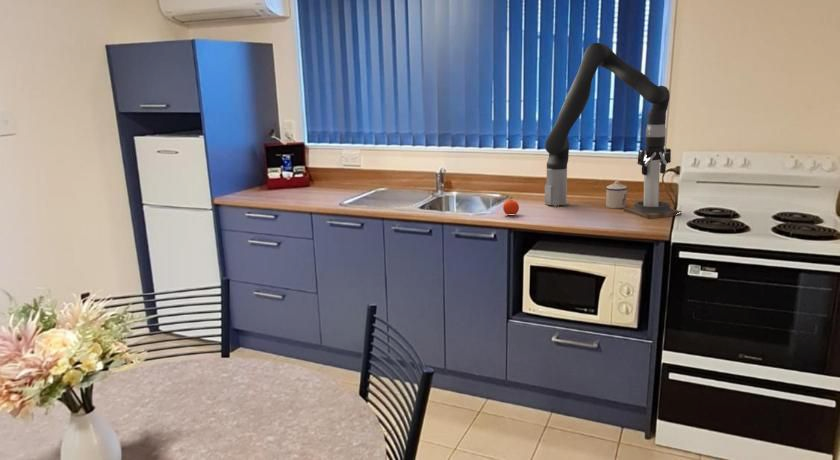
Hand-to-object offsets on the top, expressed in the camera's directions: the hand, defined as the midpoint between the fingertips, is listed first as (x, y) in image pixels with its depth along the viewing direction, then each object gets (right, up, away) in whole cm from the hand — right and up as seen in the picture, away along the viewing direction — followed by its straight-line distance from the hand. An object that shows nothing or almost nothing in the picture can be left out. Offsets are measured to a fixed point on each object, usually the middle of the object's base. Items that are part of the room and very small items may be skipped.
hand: (653, 174), depth 246 cm
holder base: (+1, -16, +4) cm, 17 cm away
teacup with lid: (-9, -13, +21) cm, 26 cm away
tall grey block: (0, -15, +4) cm, 15 cm away
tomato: (-58, -17, +13) cm, 62 cm away
